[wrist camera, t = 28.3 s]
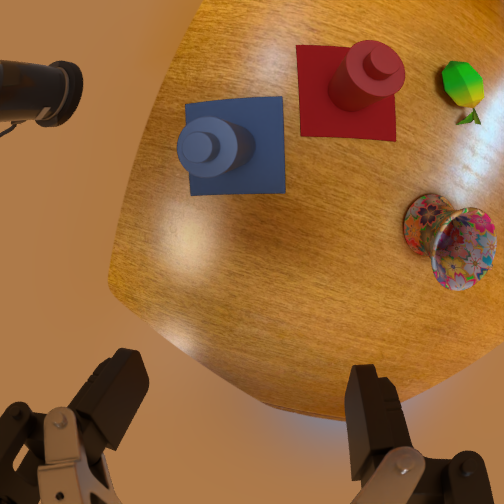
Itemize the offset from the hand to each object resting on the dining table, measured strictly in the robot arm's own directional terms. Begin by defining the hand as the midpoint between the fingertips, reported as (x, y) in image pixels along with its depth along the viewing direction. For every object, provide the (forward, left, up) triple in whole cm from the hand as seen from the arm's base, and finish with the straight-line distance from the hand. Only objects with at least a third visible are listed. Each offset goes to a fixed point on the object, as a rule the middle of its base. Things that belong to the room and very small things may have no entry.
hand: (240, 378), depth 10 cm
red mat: (+9, +15, -28) cm, 33 cm away
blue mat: (-5, +8, -28) cm, 30 cm away
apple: (+25, +17, -28) cm, 41 cm away
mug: (+22, -2, -28) cm, 36 cm away
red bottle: (+9, +15, -28) cm, 33 cm away
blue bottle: (-5, +8, -28) cm, 29 cm away
